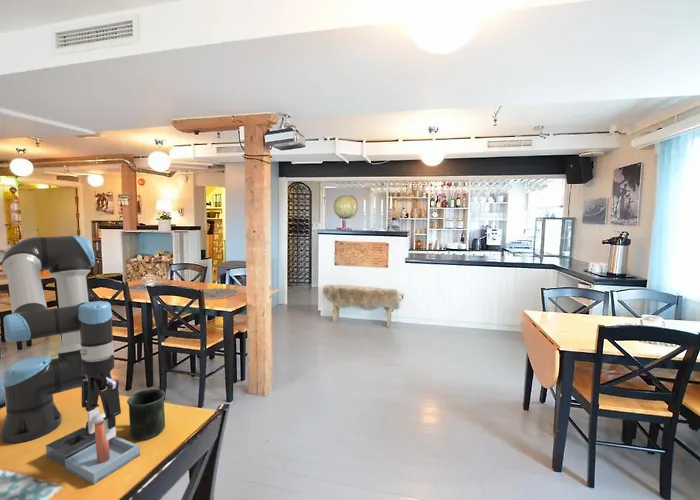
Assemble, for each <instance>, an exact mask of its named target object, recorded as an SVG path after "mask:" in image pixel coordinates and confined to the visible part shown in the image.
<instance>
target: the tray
mask: <svg viewBox="0 0 700 500" xmlns="http://www.w3.org/2000/svg"><path fill="white" fill-rule="evenodd" d="M109 453H110V459H109V460H107V461H106V462H103V463H98V462H97V452H96V443H95V444H93V445H92V446H90V447H88V448H86V449H84V450H82V451H80V452H79V453H77V454H75V455H73V456H71V457H69V458H67V459H66V460H65V467H64V469H65V471H67V472H69V473H71V474H73V475H75V476H77V477H79V478H81V479H82V480H84V481H87V482H88V483H90V484H92V485H95V484H97V483H99V482H100V481H102V480H104V479H105V478H106V477H109V475H111V474H113V473H114V472H116V471H117V470H120V468H122V467H124V466H125V465H127V464H129V463H130V462H132V461H134V460H135V459H137V458H138V457H140V456H141V446H140V445H139V444H136V443H134V442H131V441H129V440H126V439H125V438H122V437H119V436H117V435H116V436H115V437H113V438H111V439H109Z"/></svg>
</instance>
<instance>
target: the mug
mask: <svg viewBox="0 0 700 500" xmlns="http://www.w3.org/2000/svg"><path fill="white" fill-rule="evenodd" d="M165 396H166V393H165V391H164V390H162V389H159V388H153V389H151V388H150V389H144V390H142V391H138V392H136V393H134V394H131V396H129V397H128V398H127V401H126V404H127V405H128V415H129V419H128V420H129V435H130V437H131V438H132V439H134V440H136V441H137V440H138V441H143V440H148V439H153V438H155V437H156V436H159V435H160V434H161V433H163V431H164V429H165V427H166V418H165Z"/></svg>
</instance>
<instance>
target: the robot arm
mask: <svg viewBox="0 0 700 500" xmlns="http://www.w3.org/2000/svg"><path fill="white" fill-rule="evenodd" d="M95 265H96V258H95V253H94V249H93V246H92V243H91V241H90V240H89V238H88V237H86V236H82V235H81V236H77V235H76V236H75V235H74V236H73V235H66V236H37V237H36V236H33V237H29V238H26V239H23V240H20V241H18V242H17V243H14V244H13V245H12V246H11V247H10V248H8V250H7V251H6V252H5V253H4V255H3V257H2V259H1V270H2V272H3V273H4V274H5V276H7V284H8V292H9V299H10V307H11V313H10V314H7V315H5V316H4V317H3V328H4V330H3V331H4V340H5V341H6V342H7V343H16V342H27V341H31V340H36V339H41V338H47V337H51V336H57V335H61V341H62V347H61V348H60V349H59V350H58V351H57V357H56V358H51V356H49V355H46V354H45V355H44V354H43V355H35V356H33V357H32V356H31V357H29V358H25V359H22V360H20V361H18V362H16V363H13V364H12V365H10V366H8V367H7V368H6V369H5V371H4V373H3V383H2V385H3V387H4V396H5V397H4V398H5V410H6V414H5V417H4V419H3V423H2V427H1V429H0V440H1V441H2V442H3V443H5V444H16V443H17V444H19V443H23V442H24V443H25V442H28V441H32V440H35V439H38V438H40V437H43V436H45V435H47V434H48V435H49V434H50V433H51V432H53V431H54V430H56V429H57V428H59V427H60V425H61V424H62V414H61V412H60V410H59V409H58V407H57V405H56V403H55V401H54V395H55V394H58V393H59V394H60V393H63V392H66V391H70V390H74V389H78V388H81V408H83V409H85V411H86V412H87V422H88V427H89V434H92V433H94V432H95V427H94V423H92V417H93V416H95V415H97V414H100V407H99V406H100V405H99V402H98V401H99V396H100V400H101V404H102V405H101V406H102V408H103V413H105V416H106V417H104V418H103V420H104V436H105V441H107V440H109V439H111V438H113V437H115V436H117V427H116V425H117V424H116V416H119V415H121V414H122V408H121V401H120V392H119V391H120V390H119V385H120V382H119V380H118V379H116V380H113V378H112V374H111V371H112V370H113V369H114V368H115V356H114V353H115V349H114V348H115V347H114V335H113V312H112V305H111V303H110V302H109V301H104V300H98V301H97V300H96V301H89V294H88V293H89V292H88V283H87V276H88V274H89V273H91V268H92V267H94V266H95ZM41 271H49V274H50V276H51V277H52V278H54V279H55V281H56V289H57V299H58V300H57V302H58V307H55V308H48V305H47V301H46V297H45V296H46V295H45V293H44V287H43V283H42V279H41V275H40V272H41Z"/></svg>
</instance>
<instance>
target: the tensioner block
mask: <svg viewBox="0 0 700 500" xmlns="http://www.w3.org/2000/svg"><path fill="white" fill-rule="evenodd" d="M95 443H96V439H95V432H94V433H92V434H89V427H88V421H87V422H86V424H85V427H81V428H79V429H76V430H75V431H72V432H71V433H68V434H66V435H64V436H62V437H60V438H57V439H56V440H53V441H52V442H50V443H47V444H46V445H45V451H46V452H45V453H46V459H48V460H49V461H51V462H54V463H55V464H57V465H59V466H62V467H64V468H65V460H66V459H67V458H69V457H71V456H73V455H75V454H77V453H79V452H80V451H82V450H84V449H86V448H88V447H90V446H92V445H93V444H95Z"/></svg>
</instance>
